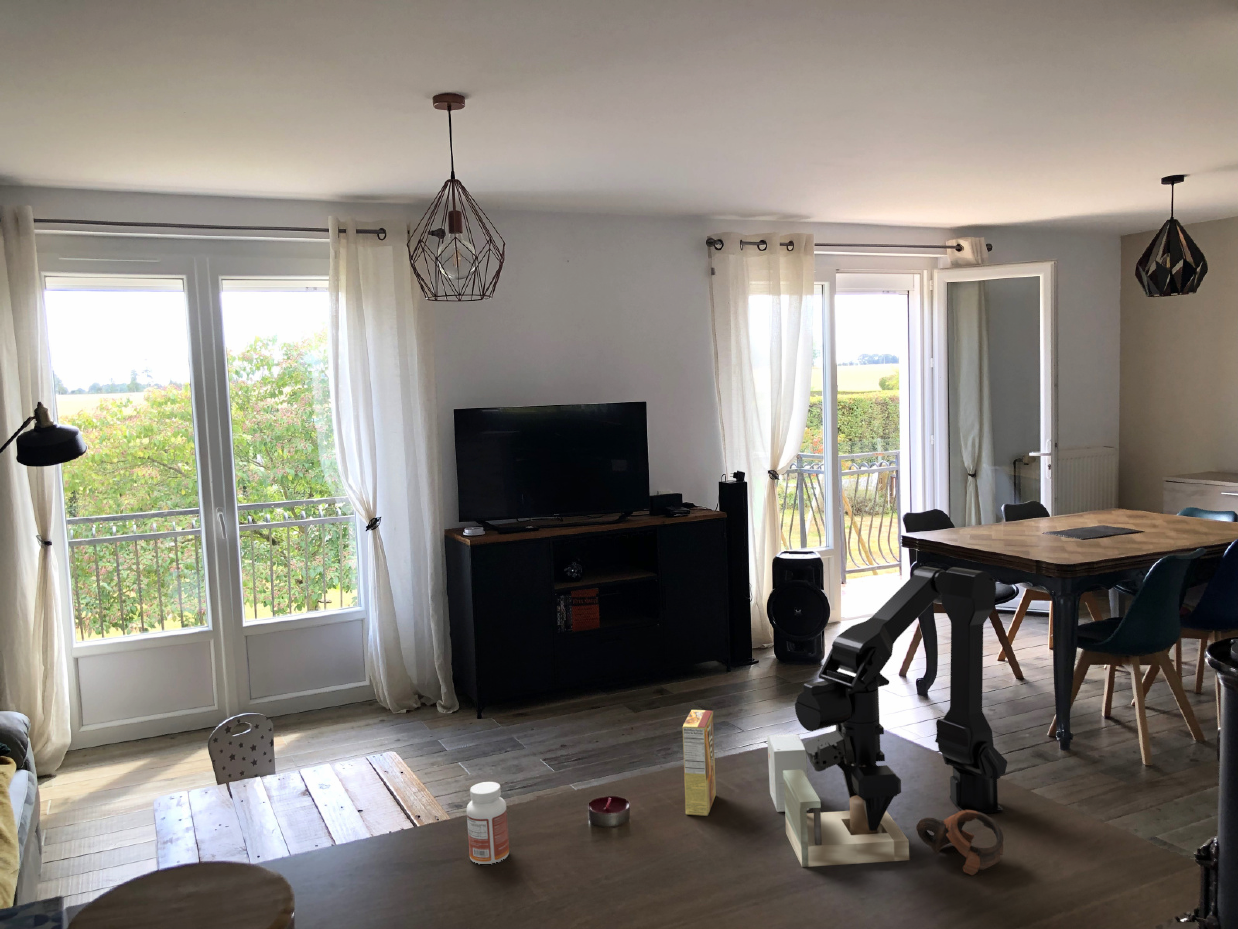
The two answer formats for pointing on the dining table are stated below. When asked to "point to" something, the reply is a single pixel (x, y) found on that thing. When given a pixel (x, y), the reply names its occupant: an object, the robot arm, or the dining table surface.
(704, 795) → the candy box
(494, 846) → the pill bottle
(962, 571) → the robot arm
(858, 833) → the peg
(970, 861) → the pottery mug
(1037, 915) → the dining table surface
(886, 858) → the shelter
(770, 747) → the small box
